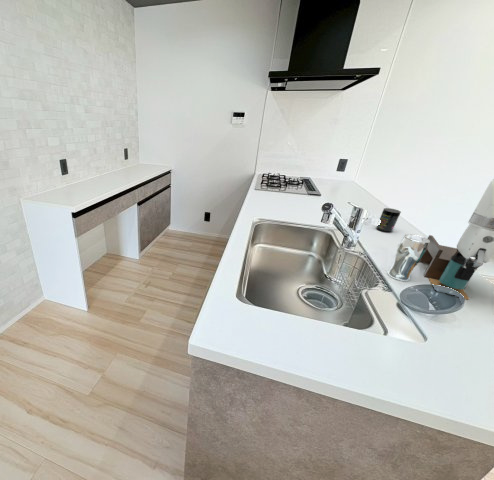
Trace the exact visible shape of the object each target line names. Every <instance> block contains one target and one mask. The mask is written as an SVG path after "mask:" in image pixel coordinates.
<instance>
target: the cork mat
mask: <svg viewBox="0 0 494 480" xmlns="http://www.w3.org/2000/svg"><path fill="white" fill-rule="evenodd" d="M428 281H429V283H430V285H431V284H434V285H441V286H445V287H448V286H446V285H444V284H442V283H441V282H440V281H439V280H436V279H432V278H428ZM449 288H451V287H449ZM452 289H454V290H456V291H458V292H459V293H461V294H462V295H463V296H464V298H465V299H464V300H467V301H469V299H470V297H469V295H468V294H467V293H466V291H465V290H464V289H455V288H452Z"/></svg>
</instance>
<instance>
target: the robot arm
mask: <svg viewBox="0 0 494 480" xmlns="http://www.w3.org/2000/svg"><path fill="white" fill-rule="evenodd" d="M467 223H468V226H467V227H466V229H465V230H464V231H463V233H462V235H461V236H460V238H459V240H458V242H457V244H456V248H457V252H456V253H455V254H454V255H460V256H464V257H465V260H464V263H463V266H460V268H459V269H458V271H457V273H456V274H455V276H454V277H455V278H457V279H461V280H466V281H469V282H470V280H471V279H472V277H473V275H474V274H475V272H476V271H477V270H478V268H480V267H482V266H483V265H484V264H487V263H489V262H490V260H491V259H492V257H493V255H494V178H493V179H492V180H491V181H490V182H489V184H488V185H487V187H486V189H485V191H484V192H483V195H482V196H481V198H480V200H479V201H478V203H477V205H476V207H475V209H474V210H473V212H472V213H471V216H470V218H469V219H468V221H467ZM471 258H472V259H471ZM469 261H474V262H473V263H469V264H468V262H469ZM473 273H474V274H473ZM471 276H472V277H471Z"/></svg>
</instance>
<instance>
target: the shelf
mask: <svg viewBox="0 0 494 480" xmlns="http://www.w3.org/2000/svg"><path fill="white" fill-rule="evenodd" d="M427 239H428V240H430V243H429V245H428V248H427V250H426V252H425V254H424V256H423V258H422V259H421V260H420V261H419V263H422V264H426V265H428V267H427V268H426V270H425V272H424V274H423V277H424V278H427V279H429V278H432V279H436V280H439V279H440V277H441V275H442V274H443V272H444V270H445V268H446V267H447V265H448V263H449V261H450V259H451V257H452V256H453V255H454V254H455V253H456V252H457V247H452V246H447V245H442V244H440V243H438V241H437V239H436V238H435V237H434V236H433V235H431V234H429V235H428V236H427Z"/></svg>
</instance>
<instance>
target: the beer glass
mask: <svg viewBox="0 0 494 480" xmlns="http://www.w3.org/2000/svg"><path fill="white" fill-rule="evenodd" d="M429 243H430V240H428V237H427V238H426V237H424V236H423V235H422V236H421V235H417V234H412V233H407V234H405V233H404V235H403V236H402V239H401V240H400V242H399V243H398V246H397V248H396V252H395V256H394V260H393V264H392V266H391V267H390V269H389V270H388V271H387V275H388V276H389V277H391V278H392V279H394V280H396V281H401V282H409V281H410V279H411V275H412V273H413V271H414V269H415V268H416V266H417V265H418V264H419V263H420V262H419V261H420V260H421V259H422V258H423V256H424V254H425V252H426V250H427V248H428V245H429Z"/></svg>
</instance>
